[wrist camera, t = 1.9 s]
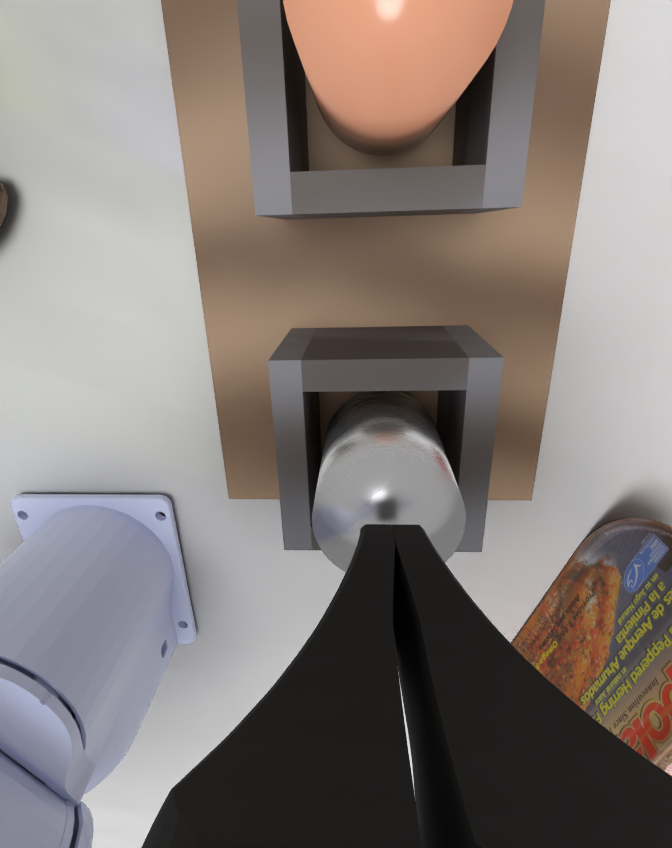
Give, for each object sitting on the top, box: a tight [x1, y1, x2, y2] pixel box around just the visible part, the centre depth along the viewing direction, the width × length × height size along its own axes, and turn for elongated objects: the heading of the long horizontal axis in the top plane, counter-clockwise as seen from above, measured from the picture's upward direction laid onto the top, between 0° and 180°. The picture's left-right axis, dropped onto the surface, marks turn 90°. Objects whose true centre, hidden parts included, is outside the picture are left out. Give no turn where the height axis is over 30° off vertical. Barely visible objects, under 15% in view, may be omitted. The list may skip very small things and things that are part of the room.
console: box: [161, 0, 611, 552], centre depth 16 cm, size 20×14×6 cm
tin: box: [512, 518, 672, 776], centre depth 20 cm, size 15×3×8 cm, turn 160°
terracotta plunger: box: [283, 0, 513, 156], centre depth 10 cm, size 4×4×5 cm
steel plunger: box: [312, 391, 466, 572], centre depth 14 cm, size 4×4×5 cm
